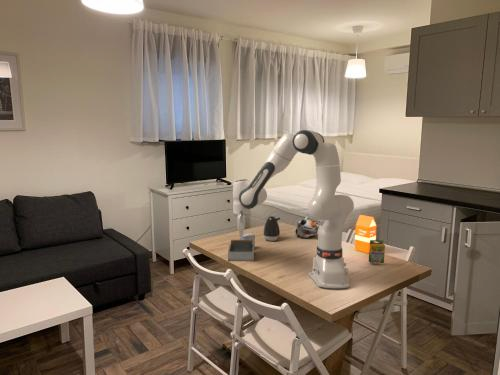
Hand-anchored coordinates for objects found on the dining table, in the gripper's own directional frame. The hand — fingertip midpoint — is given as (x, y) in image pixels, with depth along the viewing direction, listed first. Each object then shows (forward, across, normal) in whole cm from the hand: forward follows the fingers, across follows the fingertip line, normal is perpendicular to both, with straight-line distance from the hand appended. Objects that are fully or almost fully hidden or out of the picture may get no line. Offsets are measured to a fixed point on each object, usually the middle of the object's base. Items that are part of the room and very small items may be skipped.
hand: (241, 234), depth 204 cm
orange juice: (+13, +14, -71) cm, 73 cm away
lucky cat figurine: (+13, +40, -41) cm, 59 cm away
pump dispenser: (+12, +32, -18) cm, 39 cm away
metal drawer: (+12, +1, 0) cm, 12 cm away
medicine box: (+12, +14, -3) cm, 19 cm away
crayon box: (+14, -7, -70) cm, 72 cm away
